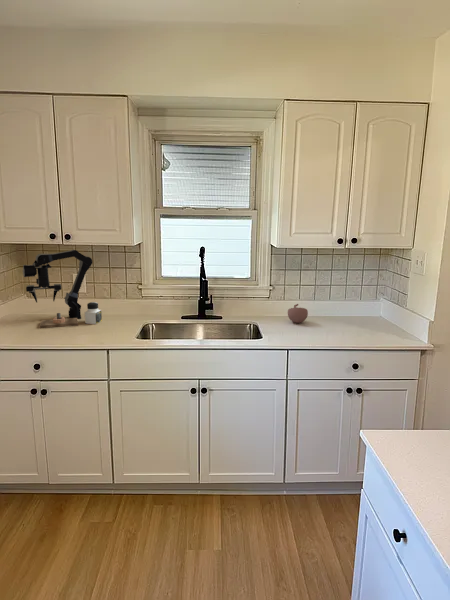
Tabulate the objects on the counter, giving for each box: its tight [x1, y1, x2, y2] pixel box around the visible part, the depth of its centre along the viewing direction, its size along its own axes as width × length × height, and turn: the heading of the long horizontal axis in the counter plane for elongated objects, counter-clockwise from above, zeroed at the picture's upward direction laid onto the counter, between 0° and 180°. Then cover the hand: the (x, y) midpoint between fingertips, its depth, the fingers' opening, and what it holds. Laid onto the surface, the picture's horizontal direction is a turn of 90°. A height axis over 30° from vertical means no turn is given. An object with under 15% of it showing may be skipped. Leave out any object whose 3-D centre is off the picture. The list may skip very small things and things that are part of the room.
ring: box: [52, 316, 66, 323], centre depth 238 cm, size 6×6×2 cm
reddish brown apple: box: [287, 303, 309, 324], centre depth 247 cm, size 12×12×12 cm
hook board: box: [39, 312, 79, 329], centre depth 238 cm, size 20×12×6 cm, turn 110°
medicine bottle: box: [84, 301, 103, 325], centre depth 242 cm, size 7×7×12 cm
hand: (45, 301), depth 241 cm, fingers open, 9 cm apart
